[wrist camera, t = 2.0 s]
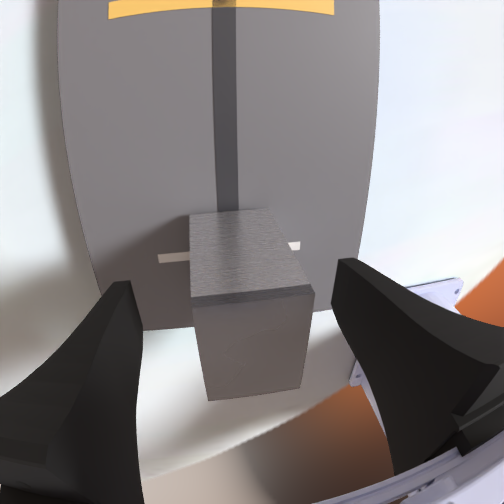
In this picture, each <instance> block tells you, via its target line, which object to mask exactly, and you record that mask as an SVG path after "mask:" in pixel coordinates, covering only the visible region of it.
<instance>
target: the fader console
mask: <svg viewBox="0 0 504 504" xmlns="http://www.w3.org/2000/svg"><path fill="white" fill-rule="evenodd" d="M57 48H58V75H59V90H60V102H61V112H62V121H63V129H64V137H65V144H66V150H67V157H68V163H69V168H70V174H71V179H72V185H73V190H74V194H75V199H76V204H77V208H78V213H79V217H80V221H81V225H82V229H83V233H84V237H85V241H86V245H87V249H88V252H89V256H90V259H91V263H92V266H93V270H94V273H95V276H96V279H97V283H98V286H99V289H100V292H101V295H103V294H104V293H105V292H106V290H107V289H108V288H109V287H110V285H111V284H112V283H113V282H115V281H127V280H130V281H131V284H132V288H133V292H134V296H135V299H136V303H137V307H138V310H139V314H140V317H141V321H142V324H143V331H148V330H161V329H174V328H186V327H194V321H193V315H192V308H191V282H190V215H192V214H204V213H215V212H227V211H240V210H253V209H267V208H269V210H270V212H271V213H272V215H273V217H274V219H275V220H276V222H277V224H278V226H279V228H280V229H281V231H282V233H283V235H284V237H285V238H286V240H287V242H288V244H289V246H290V247H291V249H292V251H293V253H294V255H295V257H296V258H297V260H298V262H299V264H300V266H301V268H302V269H303V271H304V273H305V275H306V277H307V279H308V280H309V282H310V284H311V286H312V288H313V290H314V292H315V300H314V307H313V312H318V311H324V310H330V309H332V306H331V298H332V293H333V287H334V281H335V275H336V269H337V263H338V259H343V258H352V257H354V258H356V259H358V253H359V248H360V242H361V236H362V231H363V224H364V218H365V212H366V205H367V198H368V191H369V183H370V176H371V167H372V159H373V149H374V139H375V128H376V116H377V101H378V83H379V53H380V15H379V0H58V24H57Z"/></svg>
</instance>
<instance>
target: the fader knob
mask: <svg viewBox="0 0 504 504" xmlns="http://www.w3.org/2000/svg"><path fill="white" fill-rule="evenodd" d="M190 282H191V308H192V315H193V321H194V327H195V333H196V339H197V344H198V350H199V356H200V361H201V366H202V372H203V377H204V382H205V387H206V392H207V397H208V401H214V400H223V399H231V398H239V397H247V396H254V395H261V394H267V393H274V392H280V391H286V390H291V389H297V388H300V385H301V380H302V374H303V369H304V363H305V357H306V351H307V345H308V339H309V333H310V327H311V320H312V314H313V307H314V300H315V292H314V290H313V288H312V286H311V284H310V282H309V280H308V279H307V277H306V275H305V273H304V271H303V269H302V268H301V266H300V264H299V262H298V260H297V258H296V257H295V255H294V253H293V251H292V249H291V247H290V246H289V244H288V242H287V240H286V238H285V237H284V235H283V233H282V231H281V229H280V228H279V226H278V224H277V222H276V220H275V219H274V217H273V215H272V213H271V212H270V210H269V208H267V209H253V210H240V211H227V212H215V213H204V214H192V215H190Z"/></svg>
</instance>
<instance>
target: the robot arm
mask: <svg viewBox="0 0 504 504" xmlns="http://www.w3.org/2000/svg"><path fill="white" fill-rule="evenodd" d="M462 286H463V280H462V279H461V278H455V279H451V280H446V281H441V282H436V283H431V284H426V285H421V286H416V287H411V288H405V287H403V286H401V285H400V284H398V283H396V282H395V281H393V280H391V279H390V278H388V277H386V276H385V275H383V274H381V273H380V272H378V271H377V270H375V269H373V268H372V267H370V266H368V265H367V264H365V263H363V262H361V261H360V260H358V259H356V258H354V257H352V258H343V259H338V263H337V269H336V275H335V281H334V287H333V293H332V298H331V306H332V309H333V312H334V315H335V317H336V320H337V322H338V325H339V327H340V329H341V331H342V333H343V335H344V337H345V338H346V340H347V342H348V344H349V346H350V348H351V349H352V351H353V353H354V355H355V357H356V359H357V360H356V363H355V366H354V369H353V372H352V374H351V377H350V380H349V384H350V386H352V387H354V386H358V385H362V387H363V389H364V391H365V393H366V395H367V397H368V400H369V402H370V404H371V406H372V408H373V410H374V412H375V414H376V416H377V418H378V420H379V422H380V425H381V427H382V428H383V431H384V433H385V435H386V437H387V440H388V444H389V449H390V453H391V458H392V463H393V468H394V475H395V476H394V477H392V478H390V479H387V480H385V481H382V482H379V483H377V484H374V485H371V486H369V487H366V488H363V489H360V490H357V491H354V492H351V493H348V494H345V495H342V496H338V497H335V498H332V499H328V500H325V501H321V502H317V503H313V504H387V503H390V502H392V501H394V500H397V499H399V498H401V497H403V496H406V495H408V497H409V498H407V499H405V500H403V501H402V502H401V503H400V504H504V327H499V326H495V325H491V324H488V323H484V322H481V321H477V320H474V319H471V318H468V317H466V316H463V315H461V314H460V313H459V312H458V311H457V310H456V308H455V307H454V306H455V303H456V301H457V299H458V296H459V294H460V291H461V289H462ZM142 351H143V324H142V321H141V317H140V314H139V310H138V307H137V303H136V299H135V296H134V292H133V288H132V284H131V281H130V280H127V281H115V282H113V283H112V284H111V285H110V287H109V288H108V289H107V290H106V292H105V293H104V294H103V295H102V297H101V298H100V299H99V301H98V302H97V303H96V305H95V306H94V307H93V308H92V310H91V311H90V312H89V314H88V315H87V316H86V317H85V319H84V320H83V321H82V322H81V323H80V325H79V326H78V327H77V328H76V329H75V330H74V332H73V333H72V334H71V335H70V336H69V337H68V339H67V340H66V341H65V342H64V343H63V344H62V345H61V346H60V347H59V348H58V349H57V350H56V351H55V352H54V353H53V354H52V355H51V356H50V357H49V358H48V359H47V360H46V361H45V362H44V363H43V364H42V365H41V366H40V367H38V368H37V369H36V370H35V371H34V372H33V373H32V374H30V375H29V376H28V377H27V378H26V379H25V380H23V381H22V382H21V383H19V384H18V385H17V386H16V387H14V388H13V389H11V390H10V391H9V392H7V393H6V394H4V395H3V396H2V397H0V484H1V488H0V504H144V498H143V492H142V486H141V479H140V471H139V462H138V450H137V434H136V404H137V394H138V385H139V376H140V368H141V360H142Z"/></svg>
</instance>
